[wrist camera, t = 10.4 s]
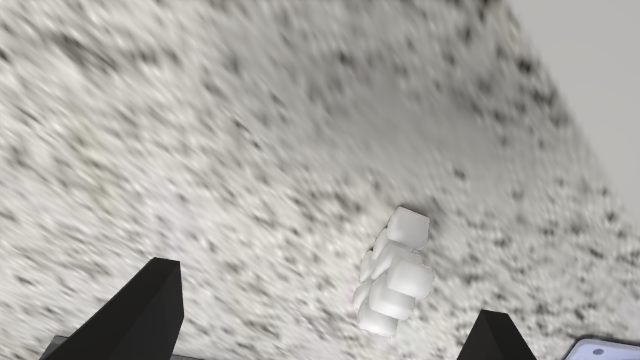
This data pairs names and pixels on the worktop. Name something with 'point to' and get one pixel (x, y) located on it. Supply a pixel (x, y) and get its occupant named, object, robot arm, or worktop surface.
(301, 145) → the worktop surface
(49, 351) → the organiser
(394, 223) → the marshmallow
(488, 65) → the worktop surface
